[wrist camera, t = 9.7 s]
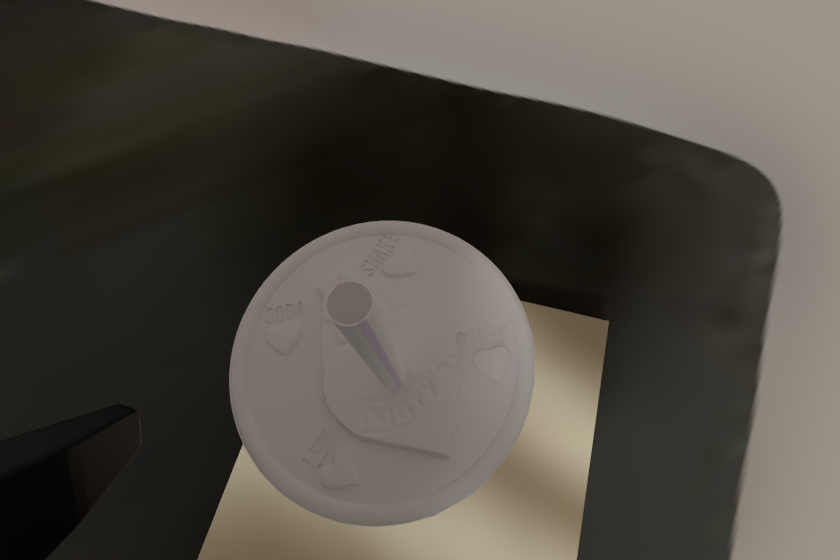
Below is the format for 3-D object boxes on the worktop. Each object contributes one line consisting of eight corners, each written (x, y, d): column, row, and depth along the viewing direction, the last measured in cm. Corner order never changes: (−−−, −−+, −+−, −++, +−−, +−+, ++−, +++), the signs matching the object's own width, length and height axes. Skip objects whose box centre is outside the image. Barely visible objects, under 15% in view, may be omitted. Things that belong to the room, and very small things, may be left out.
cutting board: (549, 687, 16) (557, 703, 15) (209, 563, 18) (193, 569, 17) (600, 329, 20) (608, 321, 19) (324, 264, 22) (318, 253, 21)
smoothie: (390, 538, 17) (180, 765, 4) (305, 390, 19) (-9, 215, 6) (530, 432, 18) (738, 328, 5) (434, 303, 20) (402, -2, 7)
